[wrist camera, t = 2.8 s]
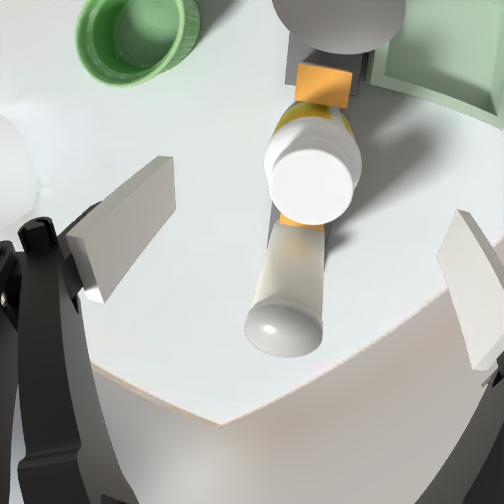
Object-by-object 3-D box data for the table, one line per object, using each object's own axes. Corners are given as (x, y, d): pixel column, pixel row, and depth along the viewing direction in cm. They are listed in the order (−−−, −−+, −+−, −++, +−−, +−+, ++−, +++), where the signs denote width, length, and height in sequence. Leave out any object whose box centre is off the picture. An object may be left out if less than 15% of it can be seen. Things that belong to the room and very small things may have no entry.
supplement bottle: (265, 141, 23) (233, 199, 15) (303, 83, 19) (293, 106, 12) (323, 178, 24) (323, 254, 16) (365, 126, 20) (393, 178, 13)
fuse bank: (296, -41, 13) (273, -114, 4) (369, -29, 13) (413, -90, 4) (265, 266, 30) (238, 369, 21) (316, 275, 30) (307, 382, 20)
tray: (377, -47, 12) (384, -57, 10) (505, 5, 10) (521, 4, 9) (364, 80, 18) (370, 84, 16) (487, 121, 17) (502, 130, 15)
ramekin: (229, -5, 16) (209, -16, 13) (180, 95, 22) (153, 106, 18) (131, -31, 15) (99, -38, 11) (95, 61, 20) (62, 69, 17)
